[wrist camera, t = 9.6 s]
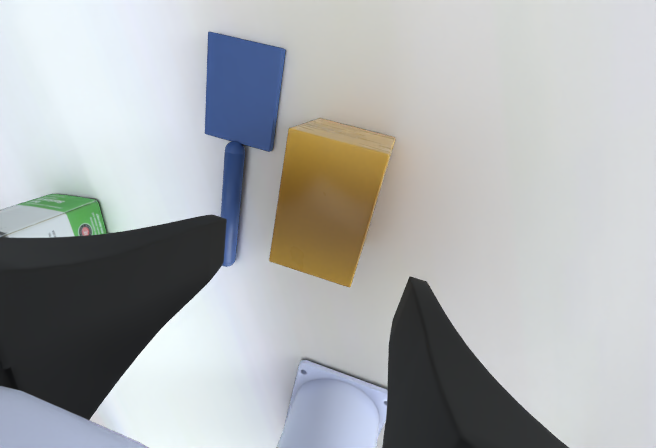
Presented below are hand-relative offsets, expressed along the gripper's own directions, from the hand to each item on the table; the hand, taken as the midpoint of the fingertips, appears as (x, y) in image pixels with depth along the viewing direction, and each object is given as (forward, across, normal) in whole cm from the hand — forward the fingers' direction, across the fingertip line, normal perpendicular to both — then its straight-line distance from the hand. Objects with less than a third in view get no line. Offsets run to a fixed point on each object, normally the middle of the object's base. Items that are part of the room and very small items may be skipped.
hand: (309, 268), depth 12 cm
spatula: (+8, +8, -1) cm, 11 cm away
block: (+8, +1, -1) cm, 9 cm away
